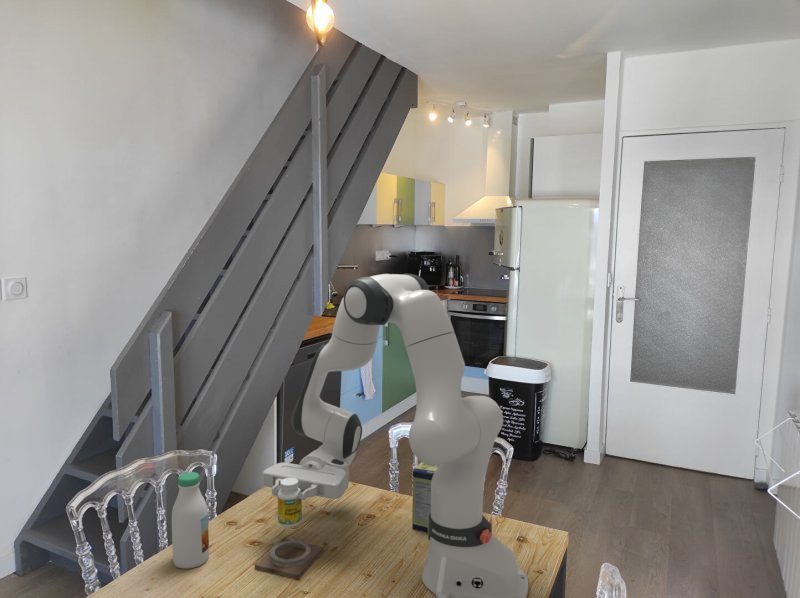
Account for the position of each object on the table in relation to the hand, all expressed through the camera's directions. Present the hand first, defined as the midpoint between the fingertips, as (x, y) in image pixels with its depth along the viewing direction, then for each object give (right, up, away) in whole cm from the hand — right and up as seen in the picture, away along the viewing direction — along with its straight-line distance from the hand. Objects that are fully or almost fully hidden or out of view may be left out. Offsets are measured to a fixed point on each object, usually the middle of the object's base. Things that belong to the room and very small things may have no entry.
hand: (287, 494), depth 127 cm
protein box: (+36, -14, +22) cm, 44 cm away
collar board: (0, -16, +2) cm, 16 cm away
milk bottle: (-22, -16, +2) cm, 27 cm away
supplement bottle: (0, -7, +2) cm, 7 cm away
